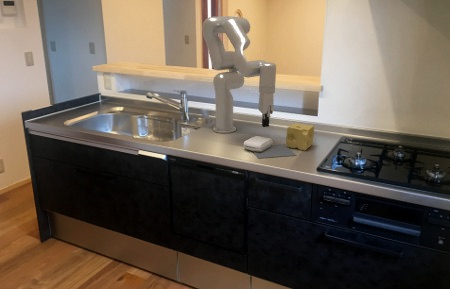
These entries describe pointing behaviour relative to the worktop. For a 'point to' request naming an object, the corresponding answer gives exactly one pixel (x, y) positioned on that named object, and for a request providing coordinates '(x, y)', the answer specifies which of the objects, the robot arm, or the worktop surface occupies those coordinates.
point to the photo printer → (258, 143)
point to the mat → (275, 152)
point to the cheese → (299, 136)
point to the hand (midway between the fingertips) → (265, 126)
